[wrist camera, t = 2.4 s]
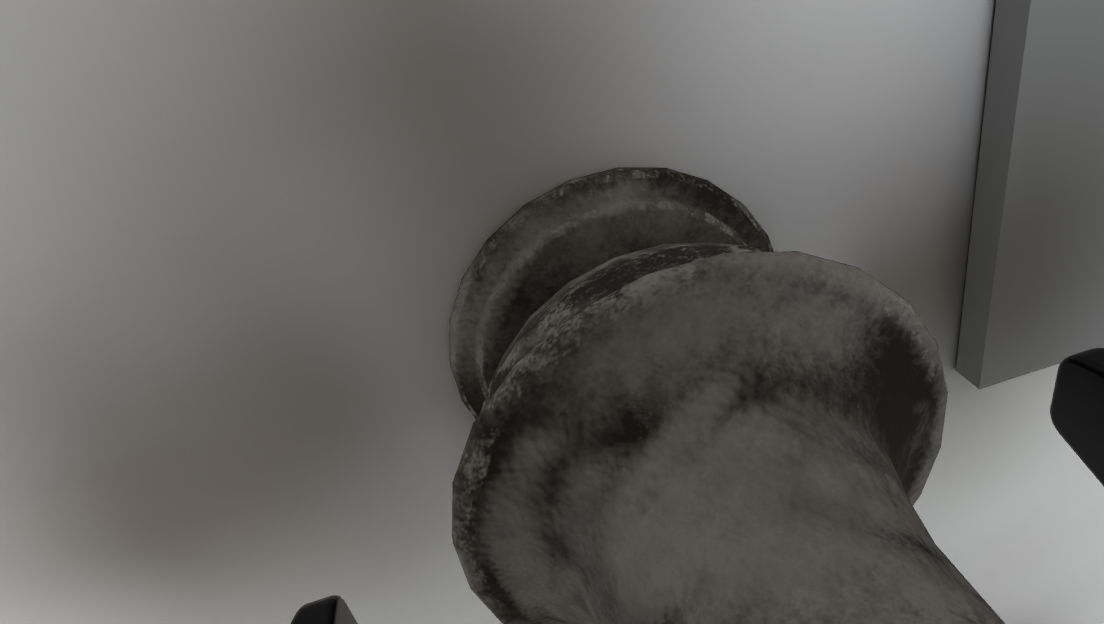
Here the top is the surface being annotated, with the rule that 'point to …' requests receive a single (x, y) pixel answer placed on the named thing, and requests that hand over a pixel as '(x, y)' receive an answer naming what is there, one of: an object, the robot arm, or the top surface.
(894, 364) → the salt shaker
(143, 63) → the top surface
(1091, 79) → the slate mat
